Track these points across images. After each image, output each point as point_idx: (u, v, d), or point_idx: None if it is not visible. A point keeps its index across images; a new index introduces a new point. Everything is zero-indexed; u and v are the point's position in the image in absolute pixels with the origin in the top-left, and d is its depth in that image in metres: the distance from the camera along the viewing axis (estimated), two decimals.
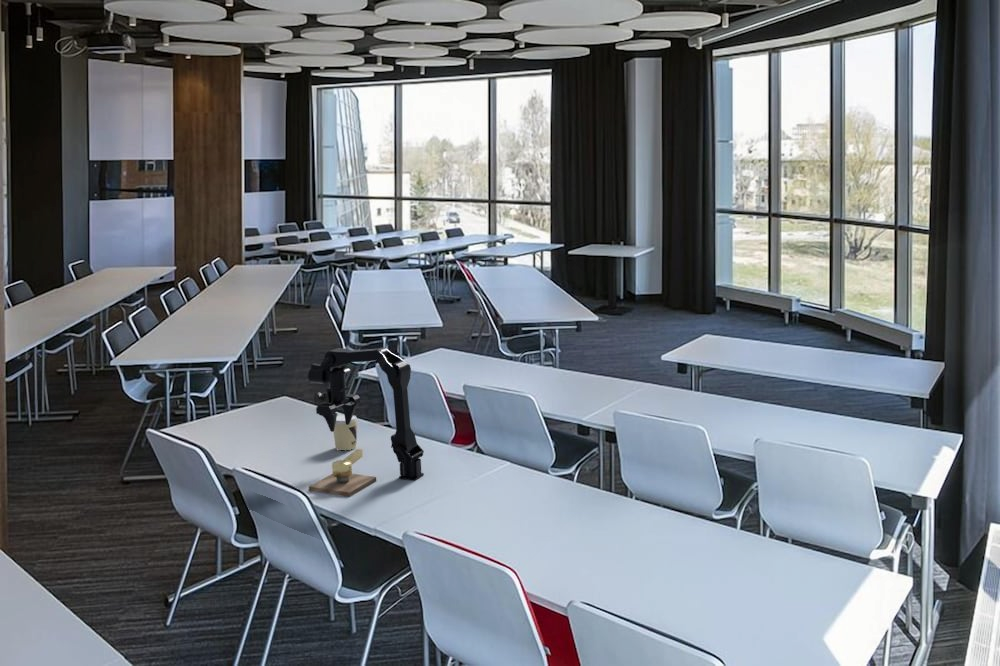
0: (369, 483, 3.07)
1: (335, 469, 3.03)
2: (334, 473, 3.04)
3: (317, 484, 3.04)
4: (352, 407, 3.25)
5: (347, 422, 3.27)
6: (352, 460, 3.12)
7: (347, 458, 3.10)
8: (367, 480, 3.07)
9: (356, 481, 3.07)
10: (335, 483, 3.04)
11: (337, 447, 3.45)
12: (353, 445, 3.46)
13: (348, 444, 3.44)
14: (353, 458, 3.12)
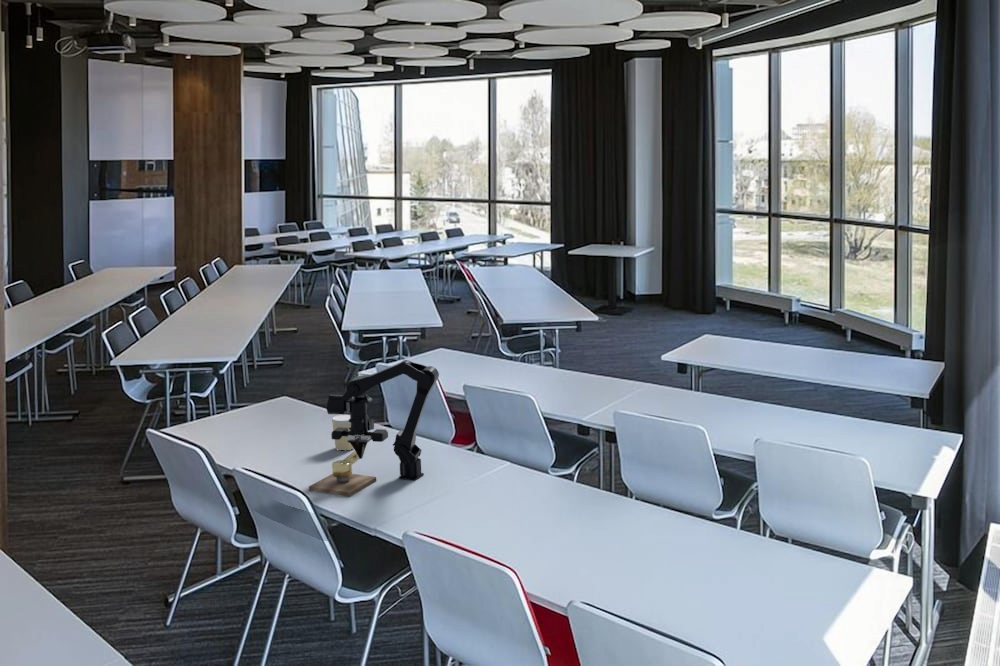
0: (369, 483, 3.07)
1: (335, 469, 3.03)
2: (334, 473, 3.04)
3: (317, 484, 3.04)
4: None
5: None
6: (352, 460, 3.12)
7: (347, 458, 3.10)
8: (367, 480, 3.07)
9: (356, 481, 3.07)
10: (335, 483, 3.04)
11: (337, 447, 3.45)
12: None
13: (348, 444, 3.44)
14: (353, 458, 3.12)
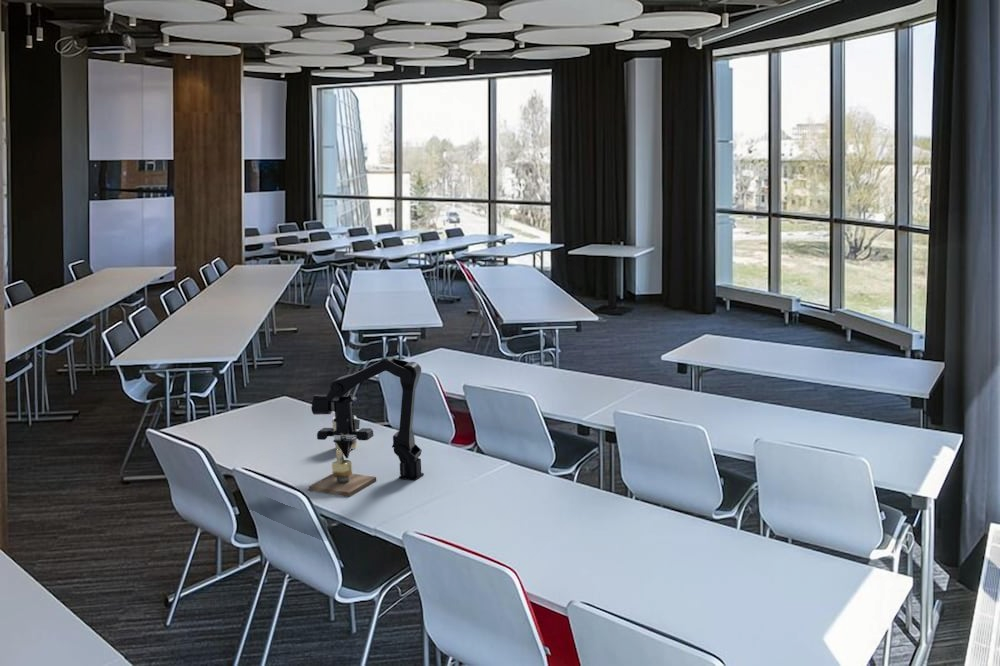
0: (369, 483, 3.07)
1: (339, 469, 3.02)
2: (338, 474, 3.03)
3: (317, 484, 3.04)
4: None
5: None
6: None
7: (340, 458, 3.10)
8: (367, 480, 3.07)
9: (356, 481, 3.07)
10: (335, 483, 3.04)
11: (337, 447, 3.45)
12: (353, 445, 3.46)
13: None
14: None
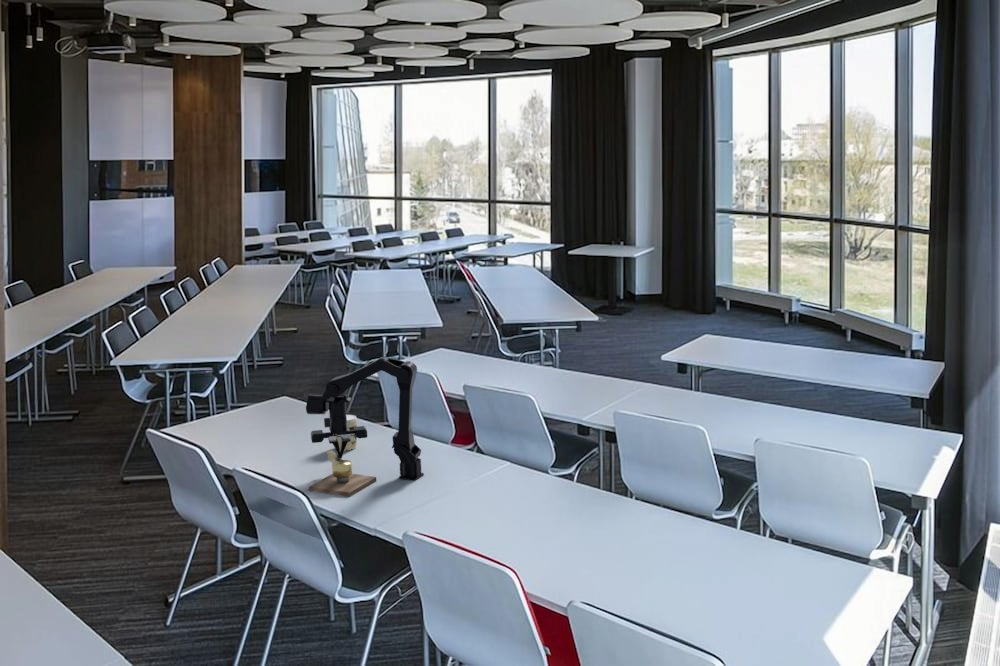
0: (369, 483, 3.07)
1: (341, 469, 3.02)
2: (339, 474, 3.03)
3: (317, 484, 3.04)
4: (341, 442, 3.13)
5: None
6: None
7: (337, 459, 3.10)
8: (367, 480, 3.07)
9: (356, 481, 3.07)
10: (335, 483, 3.04)
11: None
12: (353, 445, 3.46)
13: (348, 444, 3.44)
14: None
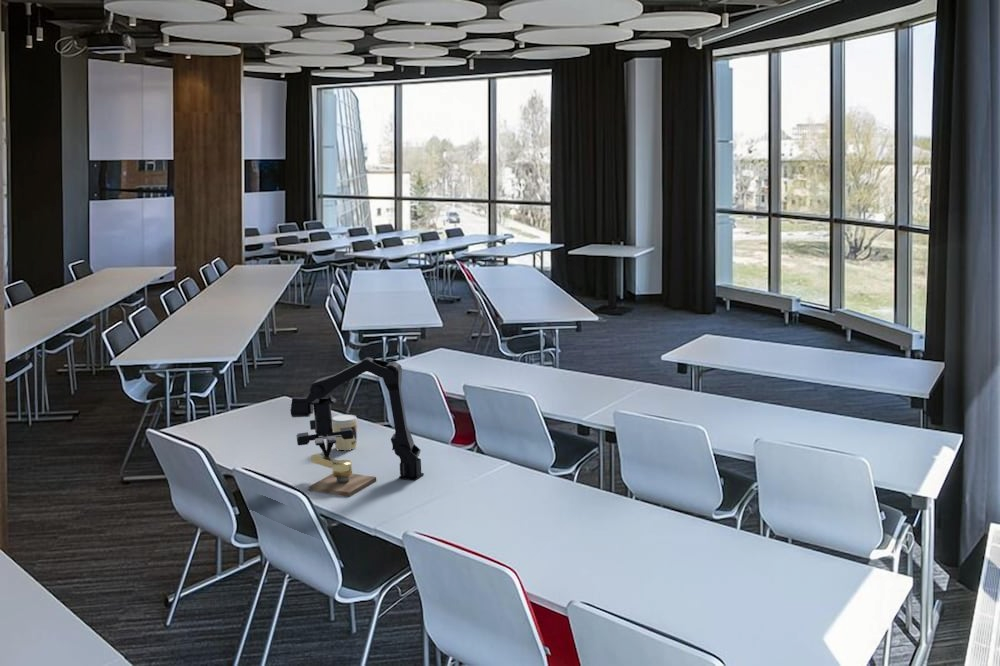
0: (369, 483, 3.07)
1: (345, 469, 3.03)
2: (343, 473, 3.03)
3: (317, 484, 3.04)
4: (327, 443, 3.12)
5: None
6: None
7: (332, 460, 3.08)
8: (367, 480, 3.07)
9: (356, 481, 3.07)
10: (335, 483, 3.04)
11: (337, 447, 3.45)
12: (353, 445, 3.46)
13: (348, 444, 3.44)
14: None
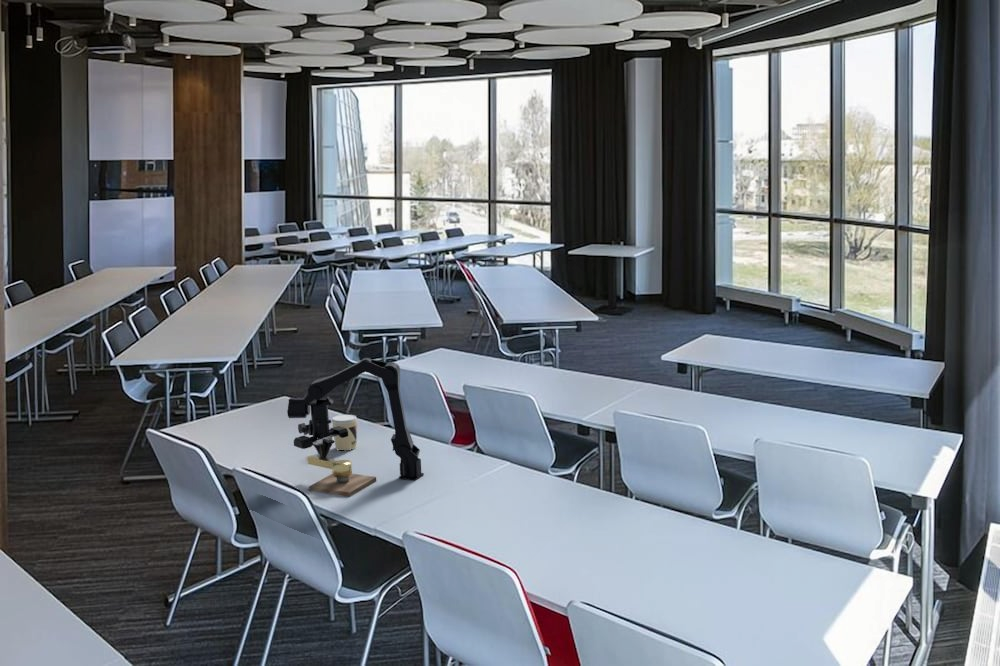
0: (369, 483, 3.07)
1: (346, 468, 3.03)
2: (345, 473, 3.03)
3: (317, 484, 3.04)
4: (326, 444, 3.11)
5: None
6: None
7: (331, 460, 3.08)
8: (367, 480, 3.07)
9: (356, 481, 3.07)
10: (335, 483, 3.04)
11: (337, 447, 3.45)
12: (353, 445, 3.46)
13: (348, 444, 3.44)
14: None
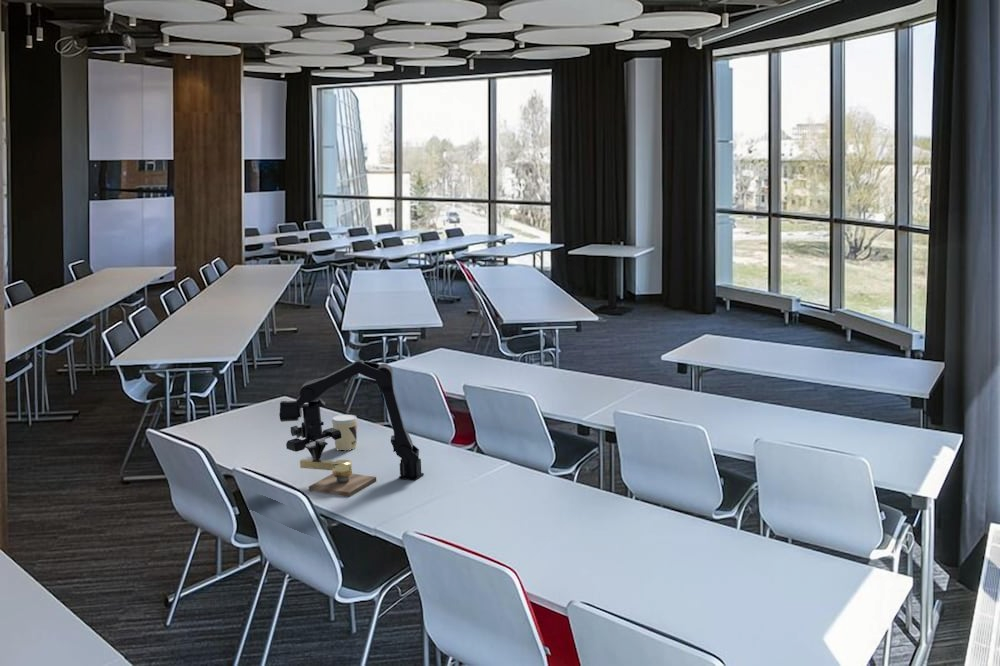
0: (369, 483, 3.07)
1: (348, 468, 3.04)
2: (347, 473, 3.04)
3: (317, 484, 3.04)
4: (319, 446, 3.09)
5: None
6: None
7: (328, 461, 3.07)
8: (367, 480, 3.07)
9: (356, 481, 3.07)
10: (335, 483, 3.04)
11: (337, 447, 3.45)
12: (353, 445, 3.46)
13: (348, 444, 3.44)
14: None
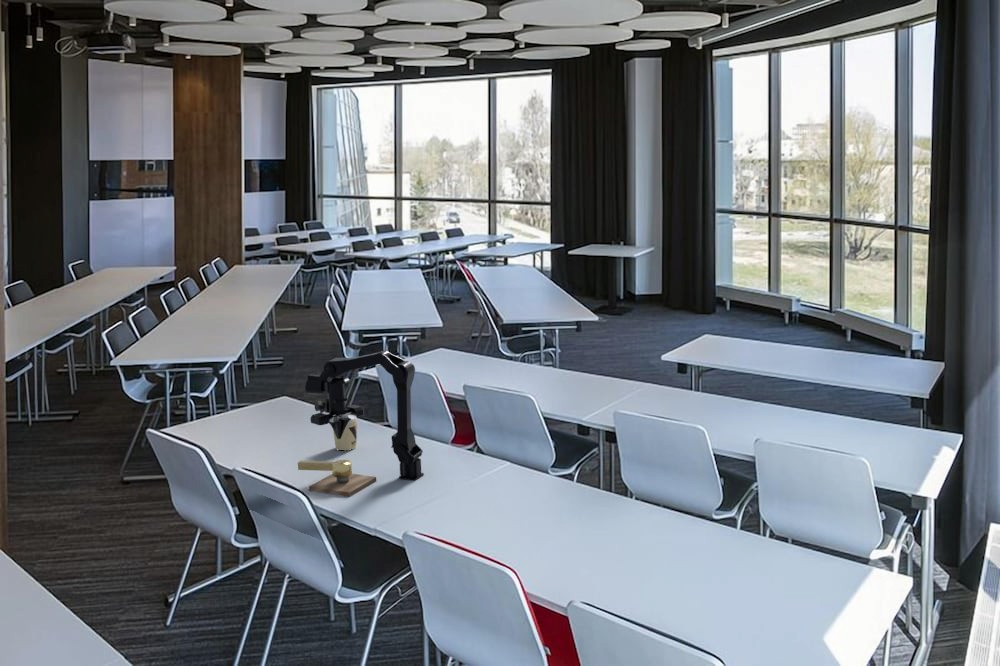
0: (369, 483, 3.07)
1: (349, 467, 3.04)
2: (348, 472, 3.04)
3: (317, 484, 3.04)
4: (343, 421, 3.17)
5: None
6: None
7: (327, 462, 3.06)
8: (367, 480, 3.07)
9: (356, 481, 3.07)
10: (335, 483, 3.04)
11: (337, 447, 3.45)
12: (353, 445, 3.46)
13: (348, 444, 3.44)
14: None
